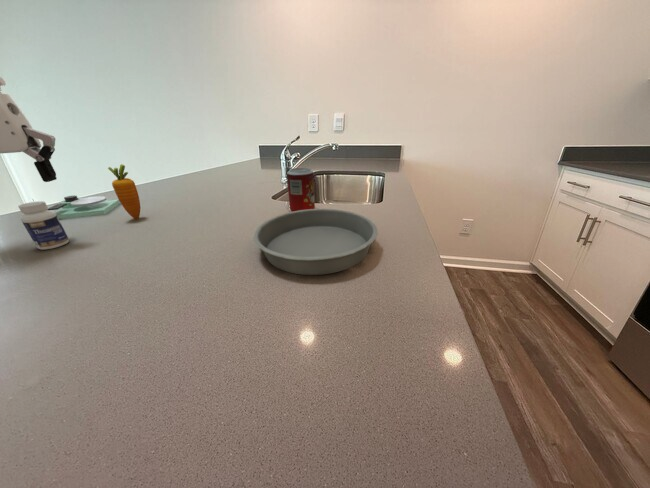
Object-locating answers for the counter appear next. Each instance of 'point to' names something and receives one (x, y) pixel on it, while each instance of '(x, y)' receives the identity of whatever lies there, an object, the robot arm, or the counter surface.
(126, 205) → the carrot
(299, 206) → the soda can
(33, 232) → the pill bottle
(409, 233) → the counter surface
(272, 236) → the cake pan
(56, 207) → the scale display
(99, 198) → the weighing plate
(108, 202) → the scale
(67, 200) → the tare button
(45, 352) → the counter surface
